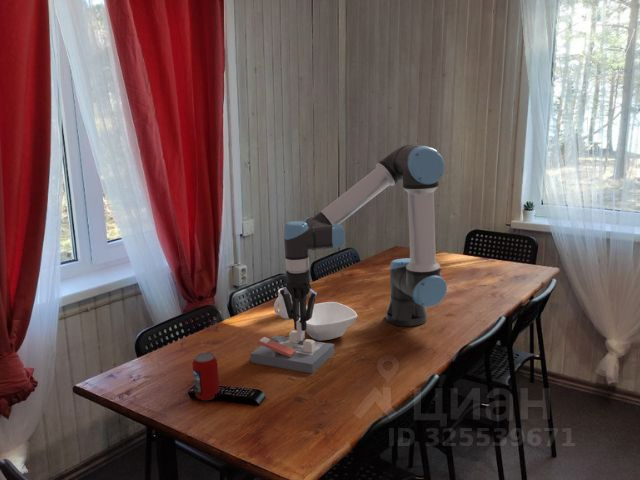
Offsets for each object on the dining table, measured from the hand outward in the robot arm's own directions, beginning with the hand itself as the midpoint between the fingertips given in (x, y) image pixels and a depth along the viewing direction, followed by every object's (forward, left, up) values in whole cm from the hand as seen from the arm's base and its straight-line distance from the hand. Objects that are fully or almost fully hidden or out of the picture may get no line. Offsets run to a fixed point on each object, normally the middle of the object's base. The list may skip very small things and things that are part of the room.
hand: (301, 339), depth 186 cm
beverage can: (+11, +36, -5) cm, 38 cm away
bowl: (-1, -15, -5) cm, 16 cm away
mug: (+21, -27, -5) cm, 34 cm away
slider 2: (-5, +5, -1) cm, 8 cm away
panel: (+1, +5, -4) cm, 7 cm away
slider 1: (+2, 0, -1) cm, 2 cm away
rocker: (+4, +10, +1) cm, 11 cm away
